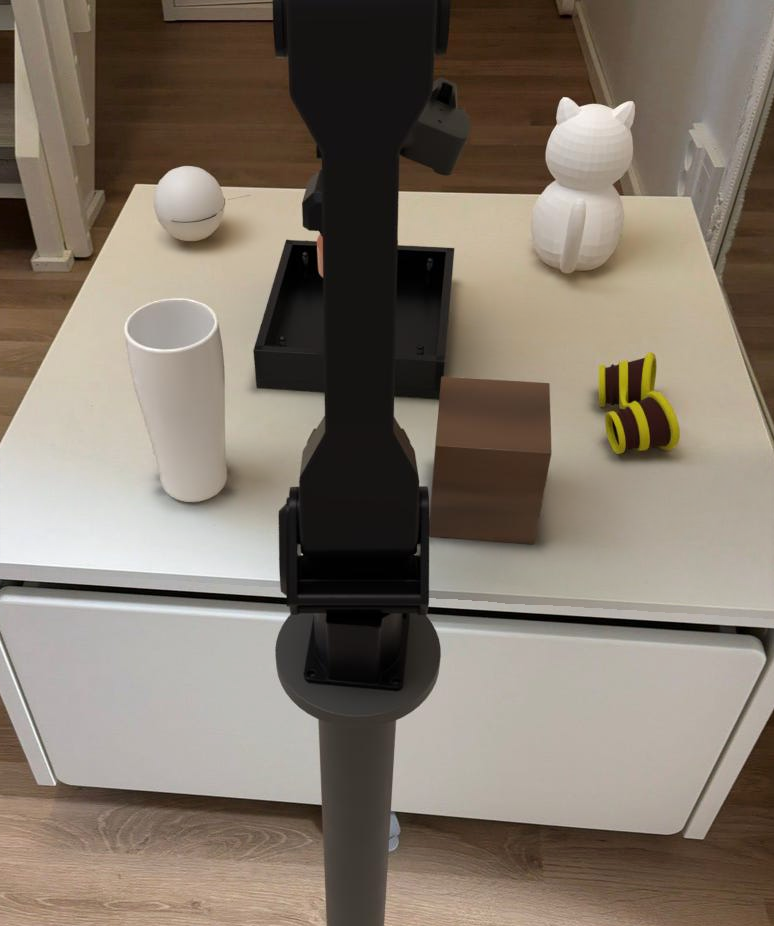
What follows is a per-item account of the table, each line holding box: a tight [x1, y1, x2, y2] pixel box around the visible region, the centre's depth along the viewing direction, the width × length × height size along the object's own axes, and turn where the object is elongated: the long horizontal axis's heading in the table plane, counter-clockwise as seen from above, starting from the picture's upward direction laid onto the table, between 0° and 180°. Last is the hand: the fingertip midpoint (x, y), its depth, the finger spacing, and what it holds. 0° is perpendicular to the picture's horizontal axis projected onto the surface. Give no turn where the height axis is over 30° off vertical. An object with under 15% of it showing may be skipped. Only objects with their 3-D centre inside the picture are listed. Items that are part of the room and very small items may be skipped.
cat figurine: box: [530, 96, 636, 274], centre depth 98 cm, size 9×12×15 cm
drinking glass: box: [123, 297, 228, 503], centre depth 77 cm, size 7×7×15 cm
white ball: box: [153, 165, 251, 242], centre depth 106 cm, size 10×7×7 cm
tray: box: [252, 239, 455, 400], centre depth 94 cm, size 18×16×4 cm
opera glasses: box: [598, 352, 681, 455], centre depth 85 cm, size 10×5×5 cm, turn 179°
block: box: [429, 376, 553, 545], centre depth 77 cm, size 8×8×9 cm
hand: (356, 256), depth 86 cm, fingers closed on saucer, 7 cm apart
